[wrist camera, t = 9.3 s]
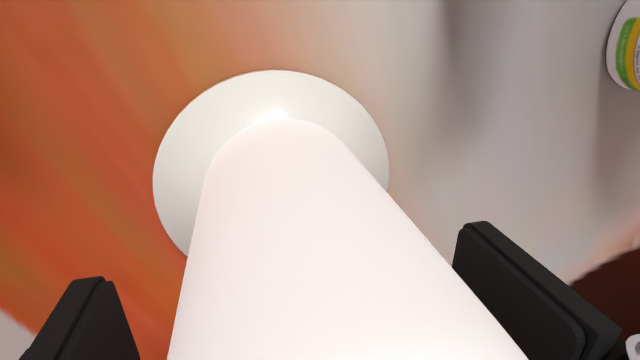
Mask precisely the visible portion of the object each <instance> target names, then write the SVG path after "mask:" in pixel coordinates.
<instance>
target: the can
mask: <svg viewBox="0 0 640 360" xmlns="http://www.w3.org/2000/svg"><path fill="white" fill-rule="evenodd" d="M167 360H528V358H527V357H526V356H525V354H524V353H523V352H522V350H521V349H520V348H519V347H518V346H517V344H516V343H515V342H514V341H513V339H512V338H511V337H510V336H509V335H508V333H507V332H506V331H505V330H504V328H503V327H502V326H501V325H500V324H499V322H498V321H497V320H496V319H495V318H494V316H493V315H492V314H491V313H490V312H489V311H488V309H487V308H486V307H485V306H484V305H483V304H482V302H481V301H480V300H479V299H478V298H477V296H476V295H475V294H474V293H473V292H472V291H471V289H470V288H469V287H468V286H467V285H466V284H465V282H464V281H463V280H462V279H461V278H460V277H459V275H458V274H457V273H456V272H455V271H454V270H453V268H452V267H451V266H450V265H449V264H448V263H447V262H446V260H445V259H444V258H443V257H442V256H441V255H440V253H439V252H438V251H437V250H436V249H435V248H434V246H433V245H432V244H431V243H430V242H429V241H428V239H427V238H426V237H425V236H424V235H423V234H422V233H421V231H420V230H419V229H418V228H417V227H416V226H415V224H414V223H413V222H412V221H411V220H410V219H409V218H408V216H407V215H406V214H405V213H404V212H403V211H402V209H401V208H400V207H399V206H398V205H397V204H396V203H395V201H394V200H393V199H392V198H391V197H390V196H389V195H388V193H387V192H386V191H385V190H384V189H383V188H382V186H381V185H380V184H379V183H378V182H377V181H376V180H375V178H374V177H373V176H372V175H371V174H370V173H369V172H368V170H367V169H366V168H365V167H364V166H363V165H362V164H361V163H360V161H359V160H358V159H357V158H356V157H355V156H354V155H353V154H352V152H351V151H350V150H349V149H348V148H347V147H346V146H345V145H344V144H343V143H342V142H341V141H340V140H339V139H338V138H337V137H336V136H335V135H333V134H332V133H331V132H329V131H328V130H326V129H324V128H323V127H321V126H319V125H316V124H314V123H311V122H307V121H303V120H298V119H273V120H267V121H263V122H260V123H257V124H254V125H251V126H249V127H247V128H245V129H243V130H241V131H240V132H238V133H237V134H235V135H234V136H233V137H231V138H230V139H229V140H228V141H227V142H226V143H225V144H224V145H223V146H222V147H221V148H220V149H219V150H218V152H217V153H216V155H215V156H214V158H213V159H212V161H211V163H210V165H209V168H208V170H207V173H206V176H205V180H204V183H203V188H202V192H201V197H200V201H199V206H198V211H197V215H196V220H195V225H194V230H193V235H192V239H191V244H190V249H189V254H188V259H187V264H186V268H185V273H184V278H183V283H182V288H181V293H180V298H179V303H178V308H177V313H176V317H175V322H174V327H173V332H172V337H171V342H170V347H169V352H168V357H167Z"/></svg>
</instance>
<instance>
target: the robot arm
mask: <svg viewBox="0 0 640 360" xmlns="http://www.w3.org/2000/svg"><path fill="white" fill-rule="evenodd" d="M452 268H453V270H454V271H455V272H456V273H457V274H458V275H459V277H460V278H461V279H462V280H463V281H464V282H465V284H466V285H467V286H468V287H469V288H470V289H471V291H472V292H473V293H474V294H475V295H476V296H477V298H478V299H479V300H480V301H481V302H482V304H483V305H484V306H485V307H486V308H487V309H488V311H489V312H490V313H491V314H492V315H493V316H494V318H495V319H496V320H497V321H498V322H499V324H500V325H501V326H502V327H503V328H504V330H505V331H506V332H507V333H508V335H509V336H510V337H511V338H512V339H513V341H514V342H515V343H516V344H517V346H518V347H519V348H520V349H521V350H522V352H523V353H524V354H525V356H526V357H527V358H528V360H640V334H636V335H633V336H631V337H629V338H628V340H627V341H626V343H625V342H624V341H622V340H621V339H620V338H619V337H618V336H619V334H620V332H621V330H622V329H621V328H620V327H619V326H618V325H616V324H615V323H614V322H613V321H611V320H610V319H609V318H608V317H606V316H605V315H604V314H603V313H601V312H600V311H599V310H598V309H596V308H595V307H594V306H592V305H591V304H590V303H589V302H587V301H586V300H585V299H584V298H583V297H581V296H580V295H579V294H578V293H576V292H575V291H574V290H573V289H571V288H570V287H569V286H568V285H566V284H565V283H564V282H563V281H561V280H560V279H559V278H558V277H556V276H555V275H554V274H553V273H552V272H550V271H549V270H548V269H547V268H545V267H544V266H543V265H542V264H540V263H539V262H538V261H537V260H535V259H534V258H533V257H532V256H530V255H529V254H528V253H527V252H525V251H524V250H523V249H522V248H520V247H519V246H518V245H517V244H515V243H514V242H513V241H512V240H510V239H509V238H508V237H507V236H505V235H504V234H503V233H502V232H500V231H499V230H498V229H497V228H495V227H494V226H493V225H492V224H490V223H489V222H487V221H479V222H472V223H467V224H465V225H464V226H463V229H461V230H460V231H459V234H458V238H457V243H456V249H455V254H454V259H453V264H452ZM19 360H140V356H139V352H138V350H137V347H136V344H135V341H134V338H133V336H132V333H131V330H130V327H129V324H128V322H127V319H126V316H125V313H124V310H123V308H122V305H121V302H120V299H119V296H118V294H117V291H116V288H115V285H114V283H113V282H112V281H106V280H105V278H104V277H102V276H97V277H90V278H83V279H76V280H74V281H72V282H71V283H70V284H69V286H68V288H67V289H66V291H65V292H64V294H63V295H62V297H61V299H60V300H59V302H58V303H57V305H56V307H55V308H54V310H53V311H52V313H51V314H50V316H49V318H48V319H47V321H46V322H45V324H44V325H43V327H42V329H41V330H40V332H39V333H38V335H37V336H36V338H35V340H34V341H33V343H32V344H31V346H30V348H29V349H27V350H26V351H25V352H24V354H23V355H22V356H21V357H20V359H19Z"/></svg>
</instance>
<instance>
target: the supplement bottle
mask: <svg viewBox="0 0 640 360" xmlns="http://www.w3.org/2000/svg"><path fill="white" fill-rule="evenodd" d="M606 62H607V68H608V71H609V73H610V75H611V77H612V78H613V80H614V81H615V82H616V83H617V84H619V85H620V86H622V87H624V88H626V89H629V90H633V91H638V92H640V0H627V1H626V2H625V4H624V5H623V7H622V8H621V10H620V12H619V14H618V15H617V18H616V20H615V22H614V24H613V27H612V29H611V32H610V36H609V39H608V44H607V51H606Z"/></svg>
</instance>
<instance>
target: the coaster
mask: <svg viewBox="0 0 640 360" xmlns="http://www.w3.org/2000/svg"><path fill="white" fill-rule="evenodd" d="M273 119H298V120H303V121H307V122H311V123H314V124H316V125H319V126H321V127H323V128H324V129H326V130H328V131H329V132H331V133H332V134H333V135H335V136H336V137H337V138H338V139H339V140H340V141H341V142H342V143H343V144H344V145H345V146H346V147H347V148H348V149H349V150H350V151H351V152H352V154H353V155H354V156H355V157H356V158H357V159H358V160H359V161H360V163H361V164H362V165H363V166H364V167H365V168H366V169H367V170H368V172H369V173H370V174H371V175H372V176H373V177H374V178H375V180H376V181H377V182H378V183H379V184H380V185H381V186H382V188H383V189H384V190H385V191H386V192H387V190H388V184H389V161H388V154H387V150H386V146H385V143H384V140H383V137H382V135H381V133H380V131H379V128H378V127H377V125H376V123H375V122H374V120H373V119H372V117H371V116H370V114H369V113H368V112H367V111H366V110H365V109H364V107H363V106H362V105H361V104H360V103H359V102H358V101H356V100H355V99H354V98H353V97H352V96H351V95H349V94H348V93H346V92H345V91H343V90H342V89H340V88H339V87H337V86H336V85H334V84H332V83H330V82H328V81H326V80H324V79H322V78H320V77H317V76H314V75H310V74H307V73H304V72H298V71H292V70H282V69H267V70H258V71H251V72H247V73H243V74H239V75H235V76H233V77H230V78H228V79H225V80H223V81H220V82H218V83H217V84H215V85H213V86H211V87H210V88H208V89H206V90H204V91H203V92H202V93H201V94H199V95H198V96H197V97H196V98H194V99H193V100H192V101H191V102H190V103H189V104H188V105H187V106H186V107H185V108H184V109H183V110H182V111H181V112H180V113H179V115H178V116H177V117H176V119H175V120H174V122H173V123H172V125H171V126H170V127H169V129H168V131H167V132H166V135H165V137H164V139H163V141H162V143H161V145H160V147H159V150H158V153H157V157H156V160H155V165H154V172H153V195H154V200H155V206H156V209H157V212H158V215H159V218H160V221H161V223H162V225H163V226H164V228H165V230H166V232H167V234H168V235H169V237H170V238H171V239H172V241H173V242H174V244H175V245H176V246H177V247H178V248H179V249H180V250H181V251H182V252H183V253H184V254H185V255H186V256H187V257H188V254H189V249H190V244H191V239H192V235H193V230H194V225H195V220H196V215H197V211H198V206H199V201H200V197H201V192H202V188H203V183H204V180H205V176H206V173H207V170H208V168H209V165H210V163H211V161H212V159H213V158H214V156H215V155H216V153H217V152H218V150H219V149H220V148H221V147H222V146H223V145H224V144H225V143H226V142H227V141H228V140H229V139H230V138H231V137H233V136H234V135H235V134H237V133H238V132H240V131H241V130H243V129H245V128H247V127H249V126H251V125H254V124H257V123H260V122H263V121H267V120H273Z"/></svg>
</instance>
